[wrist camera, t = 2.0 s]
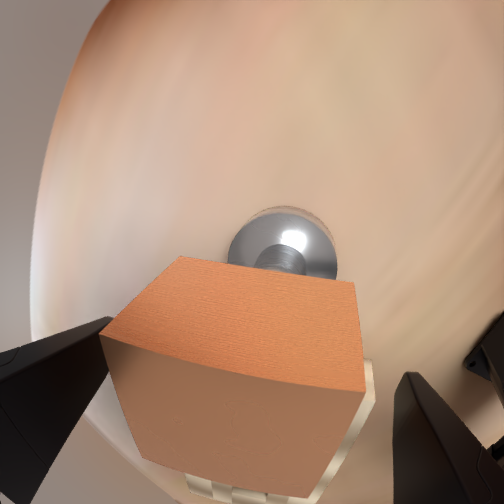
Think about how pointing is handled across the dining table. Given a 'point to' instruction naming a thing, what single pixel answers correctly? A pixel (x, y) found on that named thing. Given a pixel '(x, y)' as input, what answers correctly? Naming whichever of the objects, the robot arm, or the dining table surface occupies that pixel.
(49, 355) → the robot arm
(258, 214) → the wooden block metal peg
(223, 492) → the keyhole box
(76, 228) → the dining table surface
